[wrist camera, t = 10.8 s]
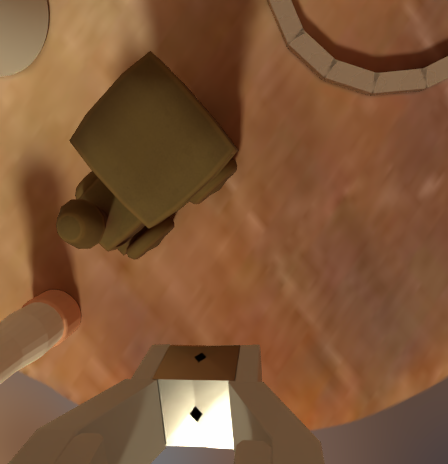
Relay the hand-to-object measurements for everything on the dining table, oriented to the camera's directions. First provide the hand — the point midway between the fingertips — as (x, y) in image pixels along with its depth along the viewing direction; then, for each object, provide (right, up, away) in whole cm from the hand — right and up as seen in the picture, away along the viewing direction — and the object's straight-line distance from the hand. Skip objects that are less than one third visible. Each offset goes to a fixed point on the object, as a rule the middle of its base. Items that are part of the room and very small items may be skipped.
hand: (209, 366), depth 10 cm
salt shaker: (-24, -8, +41) cm, 48 cm away
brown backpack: (-7, +11, +34) cm, 37 cm away
